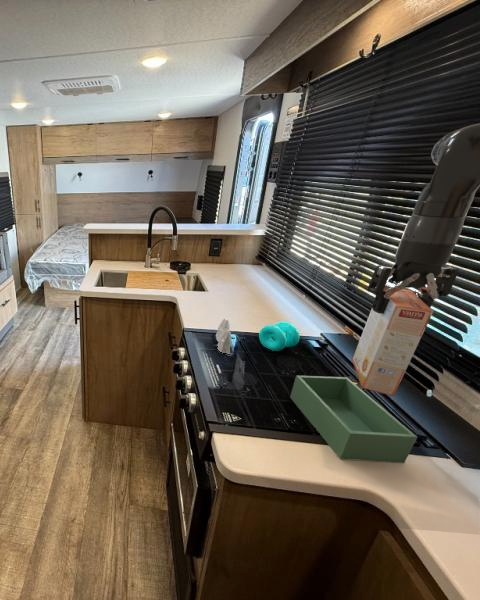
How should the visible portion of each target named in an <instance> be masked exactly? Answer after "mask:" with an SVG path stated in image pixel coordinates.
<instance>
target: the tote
mask: <svg viewBox="0 0 480 600" xmlns="http://www.w3.org/2000/svg"><path fill="white" fill-rule="evenodd" d="M289 398H290V399H291V400H292V402H293V403H294V404H295V405H296V407H297V409H299V410H300V412H301V413H302V414H303V416H305V418H306V419H307V421H309V423H310V424H311V425H312V426H313V428H314V429H315V428H316V429H315V430H316V431H317V433H318V434H319V433H320V434H319V435H320V436H321V437H322V439H323V440H324V441H325V442H326V443H327V445H328V446H329V447H330V449H331V450H332V451H333V452H334V454H336V456H337V457H338V459H340V460H348V461H350V460H351V461H366V462H381V463H395V464H396V463H397V464H405V463H406V461H407V460H408V457H409V455H410V453H411V451H412V449H413V448H414V445H415V443H416V442H417V439H418V436H417V435H416V434H414V433H413V432H412V431H411V430H410V429H409V428H407V427H406V426H405V425H404V424H403V423H402V422H400V421H399V419H397V418H396V417H395V416H393V415H392V414H391V413H390V412H389V411H388V410H386V409H385V408H384V407H383V406H382V405H381V404H379V403H378V402H377V401H376V400H374V398H372V397H371V396H369V394H368V393H366V392H365V391H364V390H363V389H362V388H361V387H359V386H358V385H357V384H356V383H355V382H353V381H352V380H351V379H350V378H349V377H345V376H322V375H321V376H320V375H319V376H318V375H295V378H294V383H293V385H292V389H291V393H290V396H289Z"/></svg>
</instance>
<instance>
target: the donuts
mask: <svg viewBox="0 0 480 600" xmlns="http://www.w3.org/2000/svg"><path fill="white" fill-rule="evenodd" d="M300 337H301V336H300V332H299V329H298V328H297V327H296V325H294V324H293V323H291V322H289V321H284V320H283V321H278V322H277V323H275V324H267V325H264V326H263V327H261V329H260V330H259V333H258V338H259V342H260V344H261V345H262V346H263V348H265V347H266V348H268V349H270V350H272V351H271V352H273V351H277V352H281V351H283V349H285V348H287V347H289V348H293V347H295V346H296V345H298V343H299V341H300ZM266 348H265V349H266ZM268 349H267V350H268ZM270 350H269V351H270Z"/></svg>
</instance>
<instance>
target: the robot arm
mask: <svg viewBox="0 0 480 600" xmlns="http://www.w3.org/2000/svg"><path fill="white" fill-rule="evenodd" d="M430 158H431V161H432V162H433V163H434V164H435V165H436V168H435V170H434V172H433V175H432V177H431V179H430V182H429V183H428V184H427V185H426V186H424V187H423V189H422V190H421V192H420V193H419V196H418V198H417V201H416V203H415V206H414V209H413V211H412V214H411V215H410V217H409V220H408V221H407V224H406V225H405V228H404V230H403V233H402V236H401V239H400V241H399V244H398V246H397V250H396V252H395V255H394V259H395V263H394V264H393V265H392V266H384V265H380V264H379V265H377V266H376V267H375V269H374V271H373V274H372V275H371V278H370V281H369V284H368V286H367V289H366V290H367V292H370V293H372V294H373V295H375V297H374V300H373V303H372V305H371V309H373V311H375V312H377V313H380V314H383V313H384V312H385V309H386V307H387V304H388V302H389V299H390V298H389V297H390V296H391V295H393V294H394V293H395V292H396V291H400V290H402V289H404V288H405V289H406V288H408V289H410V288H415V289H419V292H420V294H421V295H419V296H418V298H420V299H421V300H422V301H423V302H424V303H425V304H426V305H427V306H428V307H429V308H430V309H431V308H432V305H433V303H434V301H435V300H437V299H438V298H439V297H447V296H449V295H450V293H451V291H452V288H453V286H454V283H455V281H456V278H457V276H458V274H459V269H458V268H454V267H451V266H447V264H448V263H449V260H450V259H451V256H452V254H453V251H454V249H455V247H456V245H457V242H458V240H459V238H460V235H461V233H462V230H463V227H464V223H465V220H466V216H467V214H468V213H469V209H470V207H471V205H472V204H473V200H474V199H475V195H476V193H477V191H478V189H479V187H480V123H475V124H471V125H468V126H464V127H460V128H458V129H455V130H453V131H450V132H448V133H447V134H445V135H443V136H442V137H441V138H440V139H439V140H438V141H437V142H436V143H435V144H434V145H433V147H432V149H431V152H430ZM389 288H390V289H389ZM387 289H388V290H387ZM386 290H387V291H386ZM385 291H386V292H385Z"/></svg>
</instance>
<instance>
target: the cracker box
mask: <svg viewBox="0 0 480 600" xmlns="http://www.w3.org/2000/svg"><path fill="white" fill-rule="evenodd" d="M389 289H390V288H389ZM387 290H388V289H387ZM387 290H386V291H387ZM386 291H385V292H386ZM389 298H390V299H389V302H388V304H387V307H386V309H385V312H384V313H383V314H380V313H377V312H375V311H373V309H372V308H371V309H370V312H369V315H368V317H367V320H366V323H365V326H364V328H363V330H362V333H361V336H360V339H359V341H358V343H357V346H356V348H355V351H354V353H353V356H352V359H351V360H352V364H353V366H354V371H355V372H356V376H357V378H358V381H359V384H360V388H361V389H364V390H368V391H371V392H372V391H373V392H375V393H380V394H383V395H387V396H391V397H394V396H395V394H396V392H397V390H398V388H399V386H400V383H401V381H402V380H403V377H404V375H405V373H406V371H407V369H408V367H409V364H410V362H411V361H412V358H413V356H414V354H415V351H416V349H417V347H418V346H419V343H420V341H421V338H422V337H423V335H424V332H425V330H426V328H427V326H428V325H429V322H430V319H431V318H432V316H433V313H434V310H433V309H432V308H431V307H430V308H429V307H428V306H427V305H426V304H425V303H424V302H423V301H422V300H421V299H420V298H419V296H418V295H417V294H415V293H414V292H413V290H410V289H406V288H405V289H404V288H403V289H402V290H400V291H396V292H395V293H394V294H393V295H391V296H390V297H389Z"/></svg>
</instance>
